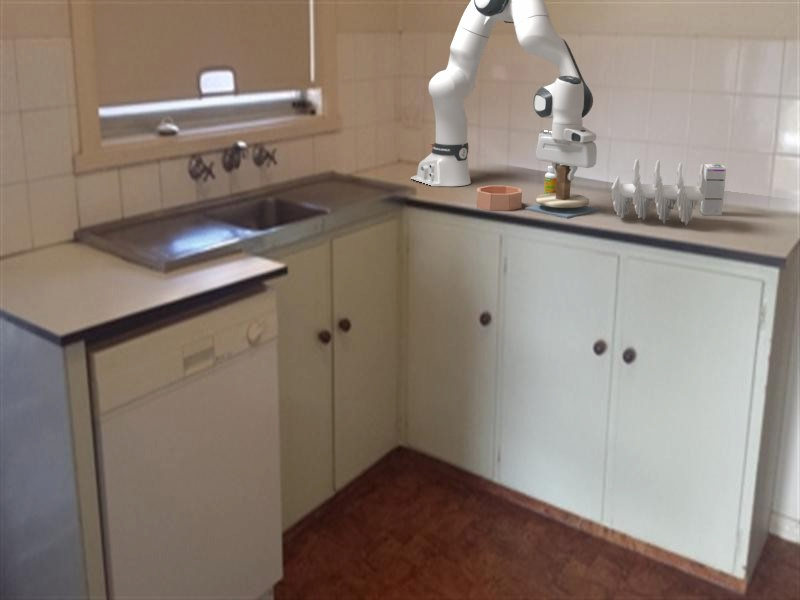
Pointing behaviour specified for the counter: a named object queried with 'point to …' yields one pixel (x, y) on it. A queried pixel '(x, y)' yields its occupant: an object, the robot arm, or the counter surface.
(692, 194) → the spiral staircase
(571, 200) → the lid
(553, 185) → the supplement bottle
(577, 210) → the mat
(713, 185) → the syrup box
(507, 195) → the bowl
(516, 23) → the robot arm
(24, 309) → the counter surface
